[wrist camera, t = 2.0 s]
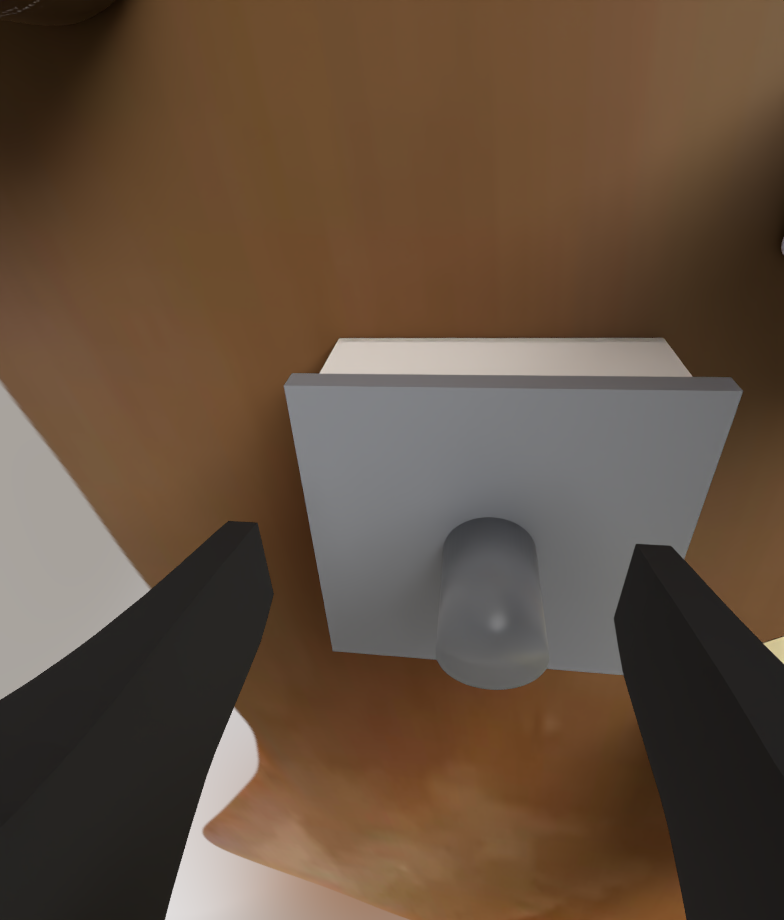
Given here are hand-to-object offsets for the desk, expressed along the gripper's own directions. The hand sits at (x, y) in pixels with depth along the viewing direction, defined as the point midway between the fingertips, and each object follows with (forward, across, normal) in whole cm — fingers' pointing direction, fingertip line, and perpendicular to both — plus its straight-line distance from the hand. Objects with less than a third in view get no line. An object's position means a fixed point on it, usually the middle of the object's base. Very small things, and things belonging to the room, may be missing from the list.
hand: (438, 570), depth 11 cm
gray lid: (+6, -2, +5) cm, 8 cm away
